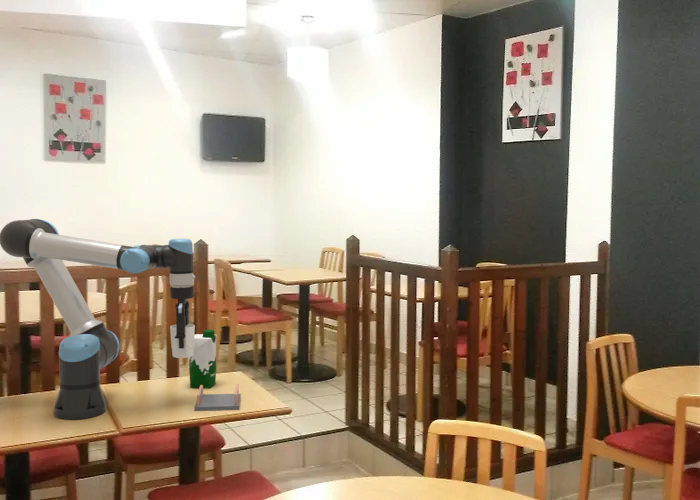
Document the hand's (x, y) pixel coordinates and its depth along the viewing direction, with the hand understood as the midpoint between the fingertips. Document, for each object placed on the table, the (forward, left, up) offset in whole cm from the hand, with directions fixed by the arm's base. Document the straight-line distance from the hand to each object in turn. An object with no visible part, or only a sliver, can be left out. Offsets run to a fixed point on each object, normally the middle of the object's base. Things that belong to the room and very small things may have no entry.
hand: (183, 354), depth 224 cm
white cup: (0, 0, -1) cm, 1 cm away
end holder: (+12, -4, -16) cm, 20 cm away
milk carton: (+5, +19, -16) cm, 25 cm away
